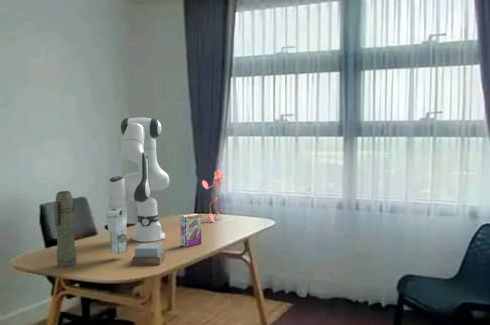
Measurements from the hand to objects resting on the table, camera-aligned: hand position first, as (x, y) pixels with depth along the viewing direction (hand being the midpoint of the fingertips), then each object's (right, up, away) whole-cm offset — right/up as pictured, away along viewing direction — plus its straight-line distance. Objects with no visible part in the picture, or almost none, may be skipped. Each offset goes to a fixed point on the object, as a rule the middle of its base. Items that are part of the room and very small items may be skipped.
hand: (118, 237), depth 270 cm
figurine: (+45, -2, +96) cm, 106 cm away
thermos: (-22, -12, -9) cm, 27 cm away
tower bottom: (+16, -11, -5) cm, 20 cm away
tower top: (+16, -7, -5) cm, 18 cm away
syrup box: (0, -8, +1) cm, 8 cm away
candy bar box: (+33, -8, +29) cm, 44 cm away
